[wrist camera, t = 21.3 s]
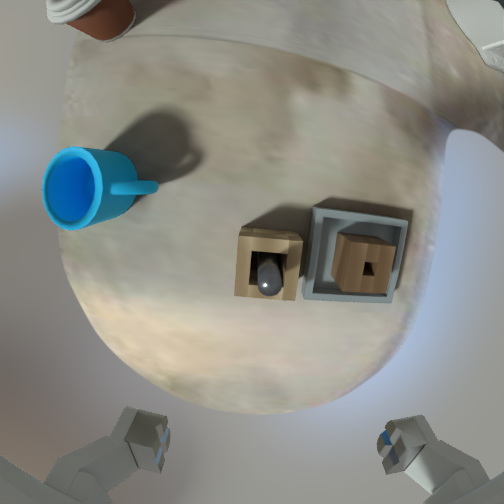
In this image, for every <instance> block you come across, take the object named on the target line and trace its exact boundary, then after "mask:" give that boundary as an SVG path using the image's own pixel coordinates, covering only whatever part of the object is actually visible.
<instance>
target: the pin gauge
mask: <svg viewBox="0 0 504 504" xmlns="http://www.w3.org/2000/svg"><path fill="white" fill-rule="evenodd" d="M258 289H259V291H260V292H261V293H262V294H263V295H265V296H275V295H277V294H278V293H279V292H280V291H281V289H282V280H281V276H280V271H279V267H278V262H277V258H276V253H273V252H261V251H259V253H258Z"/></svg>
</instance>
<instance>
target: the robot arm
mask: <svg viewBox="0 0 504 504" xmlns="http://www.w3.org/2000/svg"><path fill="white" fill-rule="evenodd" d="M446 1H447V5H448V8H449V10H450V12H451V14H452V16H453V18H454V19H455V21H456V23H457V24H458V25H459V27H460V28H461V30H462V31H463V32H464V34H465V35H466V36H467V37H468V38H469V39H470V41H471V42H472V43H473V44H474V45H475V47H476V48H477V50H478V52H479V53H480V55H481V57H482V59H483V60H484V62H485V63H486V64H487V65H488V66H490V67H492V68H495V69H497V70H499V71H501V72H503V73H504V0H446ZM167 424H168V419H167V416H164V415H160V414H156V413H152V412H147V411H143V410H140V409H136V408H132V407H129V406H127V407H126V408H125V409H124V410H123V412H122V413H121V415H120V417H119V419H118V421H117V423H116V425H115V427H114V429H113V431H112V433H111V435H110V436H104V437H102V438H100V439H98V440H96V441H94V442H92V443H90V444H88V445H86V446H84V447H82V448H80V449H78V450H76V451H73V452H71V453H69V454H67V455H65V456H62V457H60V458H58V459H57V461H56V463H55V465H54V466H53V468H52V470H51V471H50V473H49V475H48V476H47V478H46V480H45V482H44V483H43V482H41V481H40V480H38V479H36V478H35V477H33V476H31V475H30V474H28V473H27V472H25V471H24V470H22V469H21V468H19V467H18V466H16V465H15V464H13V463H12V462H10V461H9V460H8V459H6V458H5V457H3V456H2V455H1V454H0V504H114V502H113V501H112V500H111V499H110V497H109V496H108V495H107V492H108V491H110V490H111V489H113V488H114V487H116V486H117V485H118V484H120V483H121V482H122V481H124V480H125V479H127V478H128V477H129V476H131V475H132V474H133V473H135V472H136V471H137V470H138V468H139V469H143V470H147V471H152V472H156V473H161V471H162V468H163V465H164V461H165V459H164V455H163V454H164V453H166V452H167V451H168V448H169V444H170V429H169V428H168V427H167ZM385 429H386V430H385V431H384V432H383V433H381V434H380V436H379V438H378V441H377V450H378V453H379V455H381V456H382V457H383V458H384V459H383V462H382V464H383V466H384V469H385V472H386V474H392V473H397V472H401V471H405V473H406V474H407V475H409V476H410V477H411V478H412V479H413V480H415V481H416V482H417V483H418V484H419V485H421V486H422V487H423V488H424V489H425V490H427V491H428V492H429V493H430V494H432V495H431V496H430V497H429V498H428V499H426V500H425V501H424V503H423V504H504V472H503V473H501V474H499V475H498V476H496V477H495V478H493V479H492V480H490V479H489V477H488V476H487V474H486V472H485V470H484V469H483V467H482V465H481V464H480V462H479V460H477V459H475V458H473V457H471V456H469V455H467V454H465V453H463V452H462V451H460V450H458V449H456V448H454V447H452V446H451V445H449V444H447V443H445V442H443V441H442V440H440V441H438V439H437V438H436V436H435V434H434V433H433V431H432V429H431V427H430V426H429V424H428V422H427V421H426V419H425V417H424V416H423V415H418V416H413V417H407V418H401V419H396V420H391V421H389V422H388V423H387V424H386V426H385Z"/></svg>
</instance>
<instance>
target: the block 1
mask: <svg viewBox="0 0 504 504" xmlns="http://www.w3.org/2000/svg"><path fill="white" fill-rule="evenodd" d="M302 247H303V241H302V239H301V238H300V236H299V235H298V233H297V232H294V231H284V230H273V229H262V228H250V227H242V228H241V230H240V233H239V237H238V250H237V264H236V278H235V293H234V296H242V297H253V298H265V299H278V300H292V301H295V297H296V290H297V284H298V277H299V269H300V262H301V255H302ZM252 251H261V252H273V253H282V258H281V267H280V276H281V280H282V289H281V291H280V292H279V293H278V294H277V295H275V296H265V295H263V294H262V293H261V292H260V291H259V289H258V269H250V264H251V253H252Z"/></svg>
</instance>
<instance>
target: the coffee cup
mask: <svg viewBox="0 0 504 504" xmlns="http://www.w3.org/2000/svg"><path fill="white" fill-rule="evenodd" d="M46 6H47V7H48V8H47V17H48V19H49V20H50V21H51V22H52V23H54V24H65V23H66V24H68V25H70V26H72V27H74V28H76V29H78V30H80V31H82V32H84V33H86V34H88V35H90V36H91V37H93V38H95V39H97V40H98V41H100V42H105V43H106V42H111V41H114V40H116V39H118V38H120V37H122V36H123V35H124V34H125V33H126V32H128V31H129V30H130V28H131V27H132V26H133V24H134V22H135V19H136V12H135V10H134V8H133V7H132V5H131V3H130V2H129V0H47V3H46Z"/></svg>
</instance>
